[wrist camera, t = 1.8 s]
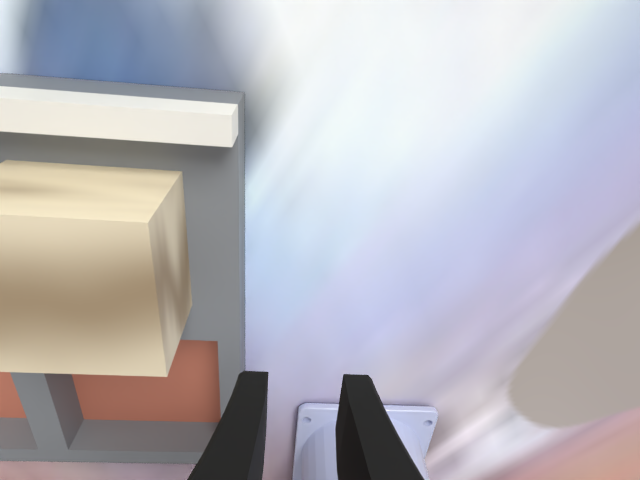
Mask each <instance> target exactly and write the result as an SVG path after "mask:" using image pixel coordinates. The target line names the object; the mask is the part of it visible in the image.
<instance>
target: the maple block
mask: <svg viewBox="0 0 640 480" xmlns="http://www.w3.org/2000/svg"><path fill="white" fill-rule="evenodd" d="M191 307H192V295H191V282H190V268H189V255H188V242H187V229H186V216H185V202H184V189H183V176H182V171H170V170H155V169H139V168H124V167H108V166H93V165H77V164H62V163H46V162H31V161H15V160H5V161H3V162H1V163H0V372H22V373H55V374H88V375H121V376H154V377H167V376H168V373H169V370H170V367H171V364H172V361H173V358H174V356H175V353H176V350H177V347H178V344H179V341H180V338H181V335H182V333H183V330H184V327H185V324H186V321H187V318H188V315H189V313H190V310H191Z"/></svg>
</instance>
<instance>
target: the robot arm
mask: <svg viewBox="0 0 640 480" xmlns="http://www.w3.org/2000/svg"><path fill="white" fill-rule="evenodd" d="M267 391H268V372H255V371H243V372H241V373H240V374H238V378H237V381H236V384H235V387H234V389H233V392H232V395H231V397H230V400H229V402H228V404H227V406H226V409H225V411H224V413H223V415H222V417H221V419H220V421H219V423H218V425H217V427H216V429H215V431H214V433H213V435H212V437H211V439H210V441H209V443H208V445H207V447H206V448H205V450H204V452H203V454H202V456H201V458H200V459H199V461H198V463H197V464H196V466H195V468H194V469H193V471H192V473H191V474H190V476H189V478H188V479H187V480H262V474H263V465H264V451H265V437H266V420H267ZM306 417H307V418H306ZM437 419H438V413H437V410H436V408H434V407H431V406H400V405H383V404H382V402H381V399H380V397H379V395H378V393H377V391H376V388H375V386H374V384H373V381H372V379H371V378H370V377H369V376H368V375H350V374H344V375H343V381H342V388H341V394H340V401H339V404H325V403H304V404H302V405H300V406H299V408H298V418H297V429H296V441H295V452H294V464H293V475H292V480H430V479H429V476H428V472H427V468H426V464H425V460H424V459H425V456H426V453H427V450H428V447H429V443H430V440H431V437H432V434H433V431H434V428H435V425H436V422H437Z"/></svg>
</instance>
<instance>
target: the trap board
mask: <svg viewBox="0 0 640 480" xmlns="http://www.w3.org/2000/svg"><path fill="white" fill-rule="evenodd" d="M5 160H15V161H31V162H46V163H62V164H77V165H93V166H108V167H124V168H139V169H155V170H170V171H182V176H183V189H184V202H185V216H186V229H187V242H188V255H189V268H190V282H191V295H192V307H191V310H190V313H189V315H188V318H187V321H186V324H185V327H184V330H183V333H182V335H181V338H180V341H179V344H178V347H177V350H176V353H175V356H174V358H173V361H172V364H171V367H170V370H169V373H168V376H167V377H154V376H121V375H88V374H55V373H22V372H0V461H48V462H110V463H173V464H197V463H198V461H199V459H200V458H201V456H202V454H203V452H204V450H205V448H206V447H207V445H208V443H209V441H210V439H211V437H212V435H213V433H214V431H215V429H216V427H217V425H218V423H219V421H220V419H221V417H222V415H223V413H224V411H225V409H226V406H227V404H228V402H229V400H230V397H231V395H232V392H233V389H234V387H235V384H236V381H237V378H238V374H240V373H241V372H243V371H245V92H235V91H222V90H210V89H197V88H184V87H172V86H159V85H146V84H133V83H121V82H108V81H95V80H83V79H70V78H57V77H44V76H32V75H19V74H6V73H0V163H1V162H3V161H5Z"/></svg>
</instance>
